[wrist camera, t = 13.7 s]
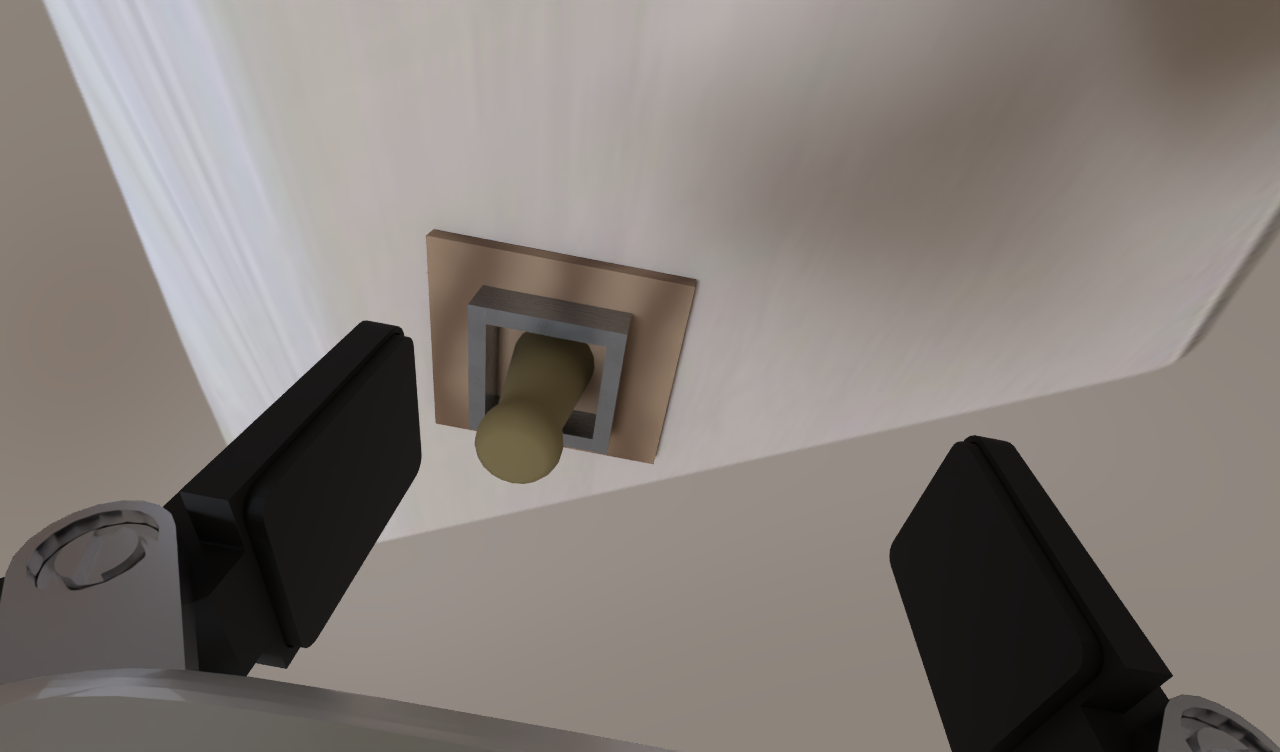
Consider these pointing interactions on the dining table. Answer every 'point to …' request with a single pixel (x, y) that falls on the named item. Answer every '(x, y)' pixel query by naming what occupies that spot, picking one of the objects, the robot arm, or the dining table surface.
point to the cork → (534, 407)
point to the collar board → (643, 293)
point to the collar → (554, 321)
